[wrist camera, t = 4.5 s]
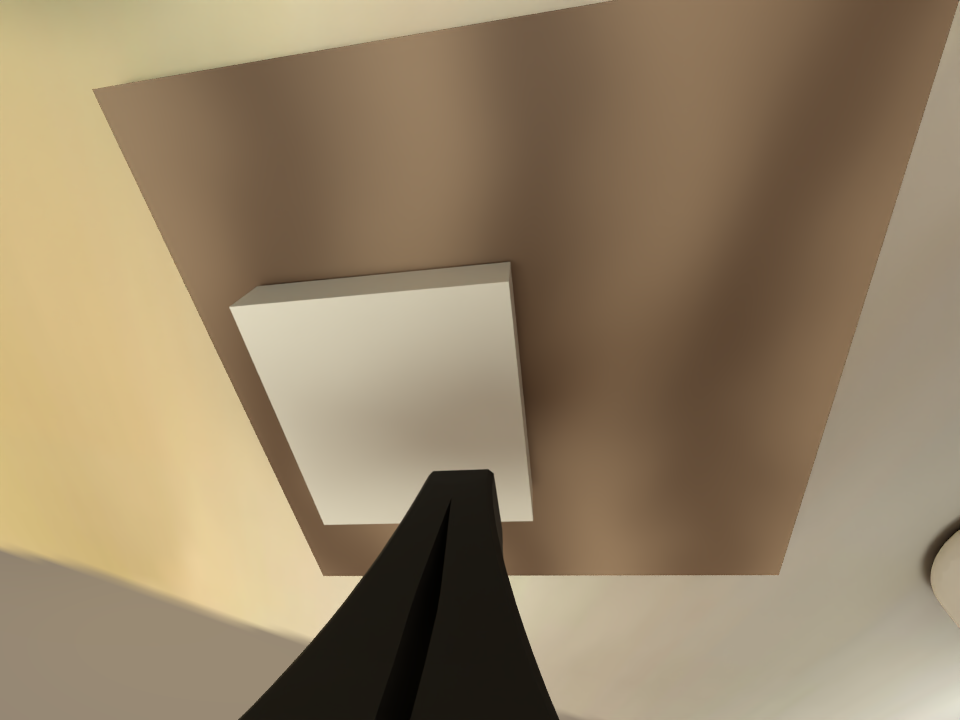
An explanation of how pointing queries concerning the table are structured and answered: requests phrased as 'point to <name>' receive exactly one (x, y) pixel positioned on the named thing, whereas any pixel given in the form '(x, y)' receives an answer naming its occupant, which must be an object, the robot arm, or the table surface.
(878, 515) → the table surface
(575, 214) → the board
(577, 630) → the table surface
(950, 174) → the table surface
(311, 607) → the table surface
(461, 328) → the tile
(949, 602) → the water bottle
